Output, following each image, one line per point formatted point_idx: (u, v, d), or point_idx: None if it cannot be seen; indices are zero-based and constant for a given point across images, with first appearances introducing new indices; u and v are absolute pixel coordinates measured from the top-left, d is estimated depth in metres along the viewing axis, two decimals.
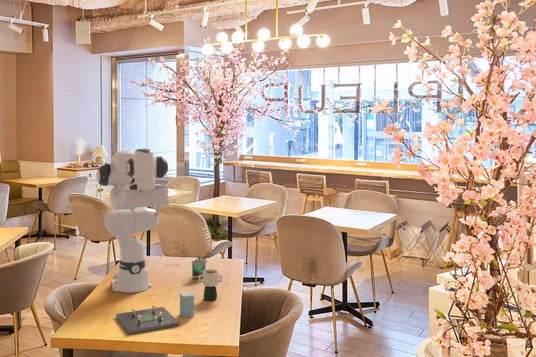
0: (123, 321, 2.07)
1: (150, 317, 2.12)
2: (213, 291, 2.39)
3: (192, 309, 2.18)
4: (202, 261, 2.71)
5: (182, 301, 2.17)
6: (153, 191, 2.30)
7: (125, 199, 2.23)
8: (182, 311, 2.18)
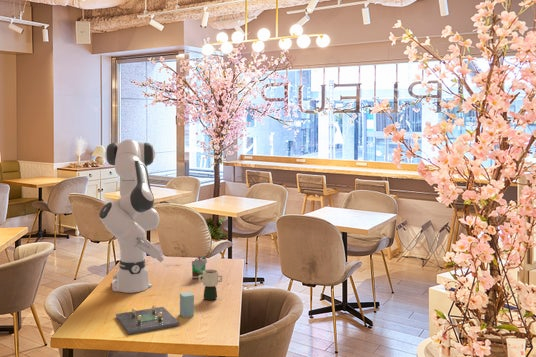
0: (123, 321, 2.07)
1: (150, 317, 2.12)
2: (213, 291, 2.39)
3: (192, 309, 2.18)
4: (202, 261, 2.71)
5: (182, 301, 2.17)
6: (137, 245, 2.04)
7: None
8: (182, 311, 2.18)
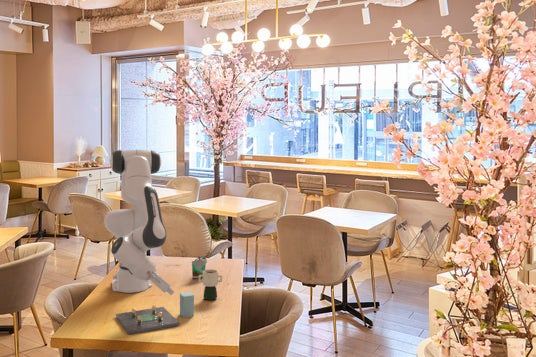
0: (123, 321, 2.07)
1: (150, 317, 2.12)
2: (213, 291, 2.39)
3: (192, 309, 2.18)
4: (202, 261, 2.71)
5: (182, 301, 2.17)
6: (148, 278, 2.07)
7: None
8: (182, 311, 2.18)
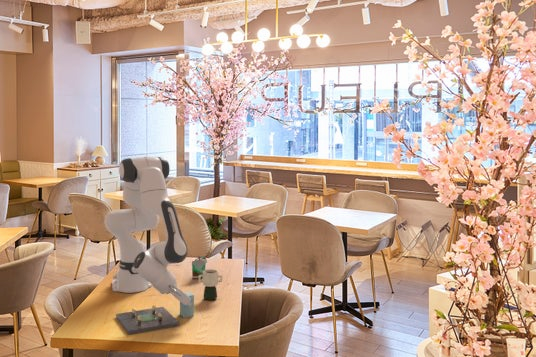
0: (123, 321, 2.07)
1: (150, 317, 2.12)
2: (213, 291, 2.39)
3: (192, 309, 2.18)
4: (202, 261, 2.71)
5: None
6: (169, 292, 2.12)
7: None
8: (182, 311, 2.18)
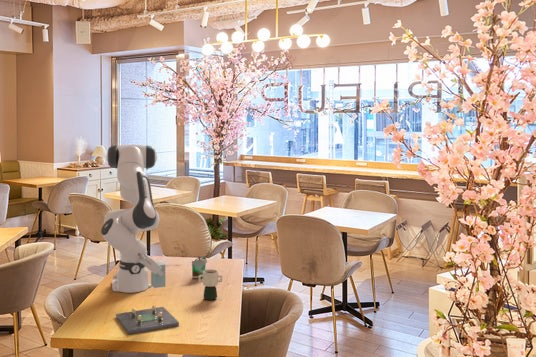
0: (123, 321, 2.07)
1: (150, 317, 2.12)
2: (213, 291, 2.39)
3: (163, 279, 2.11)
4: (202, 261, 2.71)
5: None
6: (139, 260, 2.04)
7: None
8: (153, 281, 2.10)
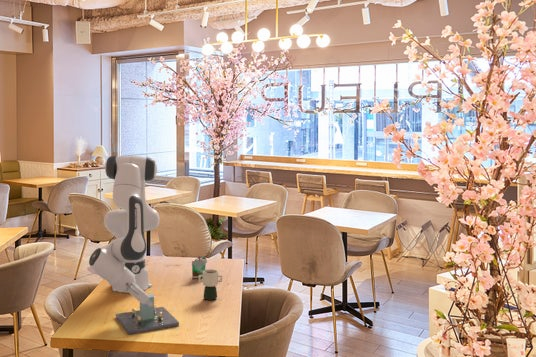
0: (123, 321, 2.07)
1: None
2: (213, 291, 2.39)
3: (152, 311, 2.10)
4: (202, 261, 2.71)
5: None
6: (127, 290, 2.03)
7: None
8: (142, 313, 2.09)
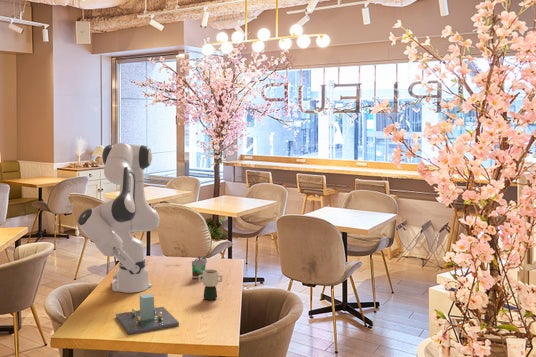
0: (123, 321, 2.07)
1: None
2: (213, 291, 2.39)
3: (152, 311, 2.10)
4: (202, 261, 2.71)
5: (142, 303, 2.09)
6: (113, 254, 2.01)
7: None
8: (142, 313, 2.09)
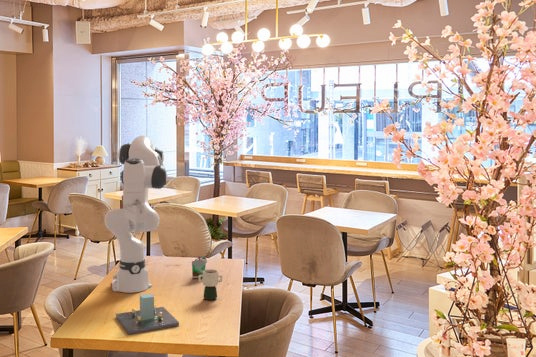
0: (123, 321, 2.07)
1: None
2: (213, 291, 2.39)
3: (152, 311, 2.10)
4: (202, 261, 2.71)
5: (142, 303, 2.09)
6: (132, 206, 2.12)
7: (123, 208, 2.23)
8: (142, 313, 2.09)
